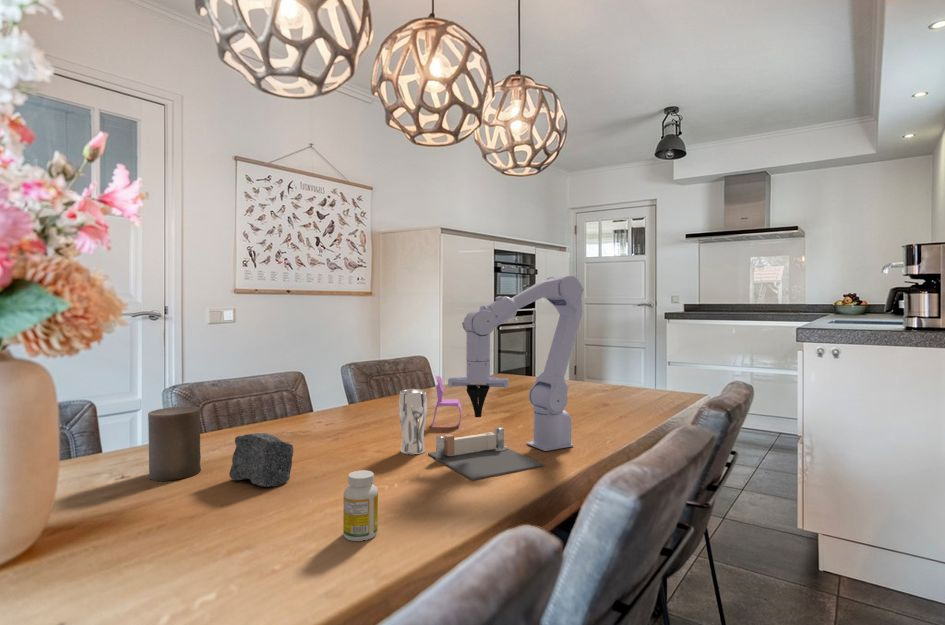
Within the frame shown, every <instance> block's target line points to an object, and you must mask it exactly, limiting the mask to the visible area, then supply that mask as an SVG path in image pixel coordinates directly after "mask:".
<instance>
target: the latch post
mask: <svg viewBox="0 0 945 625" xmlns="http://www.w3.org/2000/svg"><path fill="white" fill-rule="evenodd" d="M435 452H436V459H435V461H436V462H439V463H440V460H443V459H445V456H447V455H445V437H444V435H437V436H436V437H435Z"/></svg>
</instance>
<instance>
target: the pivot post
mask: <svg viewBox="0 0 945 625" xmlns="http://www.w3.org/2000/svg"><path fill="white" fill-rule="evenodd" d="M493 433H494V434H496V449H491V450H493V451H506V450H508V449H509V447H508V445H505V428H504V427H501V426H500V427H499V426H498V427H494V432H493Z"/></svg>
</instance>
